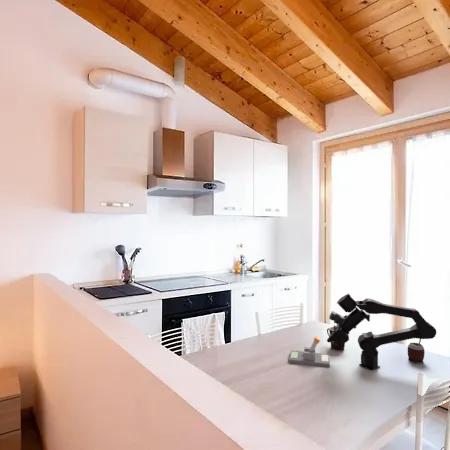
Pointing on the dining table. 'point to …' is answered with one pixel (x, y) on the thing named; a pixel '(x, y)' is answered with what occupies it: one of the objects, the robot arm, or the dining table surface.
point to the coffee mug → (336, 342)
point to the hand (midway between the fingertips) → (327, 341)
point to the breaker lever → (314, 344)
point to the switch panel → (310, 362)
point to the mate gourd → (416, 352)
